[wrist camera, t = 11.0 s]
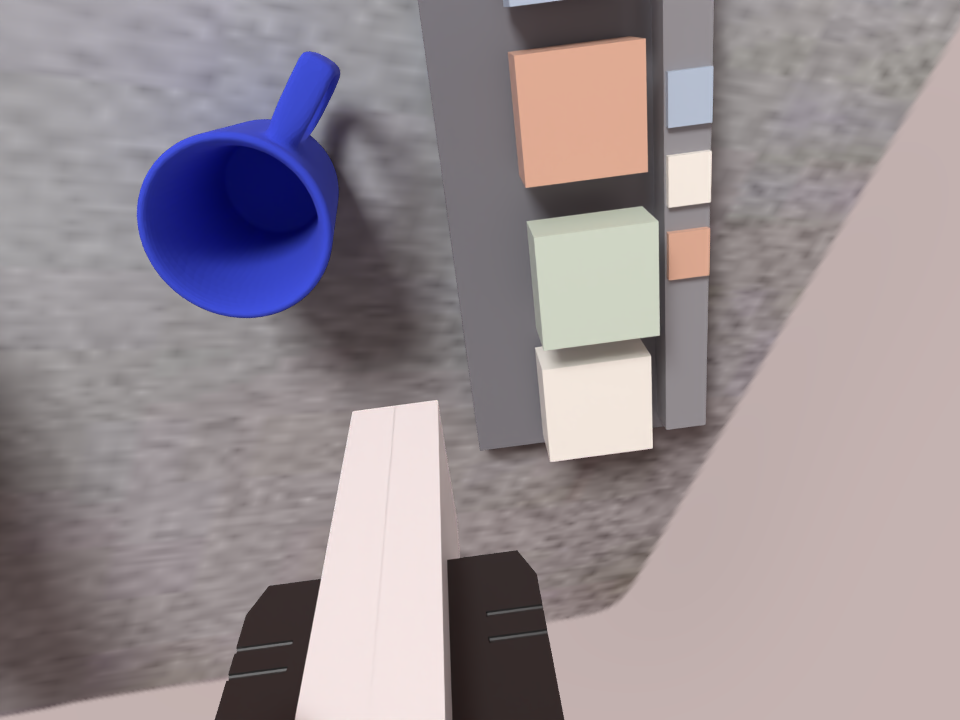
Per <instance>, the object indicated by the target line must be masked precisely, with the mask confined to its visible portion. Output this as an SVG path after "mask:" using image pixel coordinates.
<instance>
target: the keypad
mask: <svg viewBox="0 0 960 720" xmlns="http://www.w3.org/2000/svg"><path fill="white" fill-rule="evenodd" d="M418 4H419V12H420V19H421V26H422V33H423V41H424V48H425V55H426V62H427V70H428V77H429V84H430V91H431V99H432V106H433V113H434V121H435V128H436V135H437V142H438V150H439V157H440V164H441V171H442V179H443V186H444V193H445V200H446V208H447V215H448V222H449V229H450V237H451V244H452V251H453V258H454V266H455V273H456V280H457V288H458V295H459V302H460V309H461V317H462V324H463V331H464V338H465V346H466V353H467V360H468V367H469V375H470V382H471V389H472V396H473V404H474V411H475V418H476V426H477V433H478V440H479V447H480V451H482V450H489V449H497V448H504V447H512V446H519V445H527V444H534V443H542V442H545V440H544V436H543V428H542V417H541V406H540V396H539V385H538V374H537V363H536V352H535V347H542V344H541V341H540V338H539V335H538V332H537V329H536V321H535V310H534V299H533V288H532V277H531V266H530V255H529V244H528V233H527V222H526V221H532V220H540V219H548V218H555V217H563V216H571V215H578V214H586V213H593V212H601V211H609V210H616V209H624V208H631V207H639V206H643V207H644V208H645V209H646V210H647V211H648V212H649V213H650V214H651V215H652V216H653V217H654V218H655V219H657V220H658V221H659V309H660V336H652V337H645V338H640V339H641V341H642V342H643V344H644V345H645V347H646V349H647V350H648V352H649V353H650V355H651V377H652V428H654V427H662V426H664V427H665V429H666V430H670V429H677V428H685V427H692V426H700V425H706V381H707V330H708V279H709V266H710V202H711V166H712V151H711V126H712V117H713V67H714V66H713V24H714V0H559V1H552V2H544V3H536V4H528V5H521V6H513V7H503V0H418ZM627 36H632V37H638V38H645V39H646V84H647V143H648V172H643V173H636V174H628V175H621V176H613V177H605V178H598V179H590V180H582V181H575V182H567V183H559V184H552V185H544V186H537V187H529V188H526V187H525V185H524V183H523V182H522V180H521V178H520V176H519V169H518V158H517V147H516V136H515V126H514V115H513V104H512V93H511V82H510V72H509V61H508V52H511V51H519V50H527V49H534V48H542V47H550V46H558V45H565V44H573V43H581V42H588V41H596V40H604V39H611V38H619V37H627Z"/></svg>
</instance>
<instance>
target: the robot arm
mask: <svg viewBox="0 0 960 720" xmlns="http://www.w3.org/2000/svg"><path fill="white" fill-rule="evenodd" d="M215 720H564V716H563V712H562V706H561V700H560V695H559V691H558V684H557V679H556V674H555V669H554V663H553V658H552V653H551V648H550V642H549V638H548V633H547V626H546V621H545V616H544V611H543V606H542V600H541V595H540V590H539V584H538V579H537V574H536V573H535V571H534V570H533V569H532V568H531V567H530V565H529V564H528V563H527V562H526V561H525V559H524V558H523V557H522V556H521V555H520V553H519V552H518V551H509V552H502V553H494V554H487V555H479V556H472V557H464V558H460V553H459V535H458V522H457V516H456V510H455V503H454V497H453V491H452V485H451V479H450V472H449V466H448V460H447V454H446V448H445V442H444V435H443V429H442V423H441V417H440V411H439V404H438V400H434V401H427V402H419V403H412V404H404V405H397V406H389V407H382V408H374V409H367V410H359V411H353V412H352V418H351V423H350V428H349V434H348V439H347V444H346V450H345V455H344V460H343V466H342V471H341V476H340V481H339V487H338V492H337V497H336V503H335V508H334V513H333V519H332V524H331V529H330V535H329V540H328V545H327V551H326V556H325V561H324V567H323V572H322V577H321V579H318V580H310V581H303V582H295V583H288V584H280V585H273V586H269V587H268V588H267V589H266V590H265V592H264V593H263V594H262V596H261V597H260V598H259V599H258V601H257V602H256V603H255V605H254V606H253V607H252V608H251V610H250V611H249V612H248V614H247V615H246V617H245V621H244V624H243V627H242V631H241V634H240V637H239V641H238V644H237V654H234V657H233V661H232V664H231V667H230V671H229V681H226V684H225V687H224V691H223V694H222V698H221V701H220V704H219V707H218V711H217V714H216V718H215Z"/></svg>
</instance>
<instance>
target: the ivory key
mask: <svg viewBox="0 0 960 720" xmlns="http://www.w3.org/2000/svg"><path fill="white" fill-rule="evenodd" d="M535 352H536V363H537V374H538V385H539V396H540V406H541V417H542V428H543V436H544V440H545V444H546V448H547V451H548V455H549V459H550V462H554V461H562V460H569V459H577V458H584V457H592V456H599V455H607V454H614V453H622V452H629V451H637V450H644V449H652V448H653V436H652V377H651V355H650V353H649V352H648V350H647V349H646V347H645V345H644V344H643V342H642V341H641V339H640V338H637V339H629V340H622V341H614V342H607V343H599V344H592V345H584V346H577V347H569V348H561V349H554V350H546V351H544V350H543V347H535Z"/></svg>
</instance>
